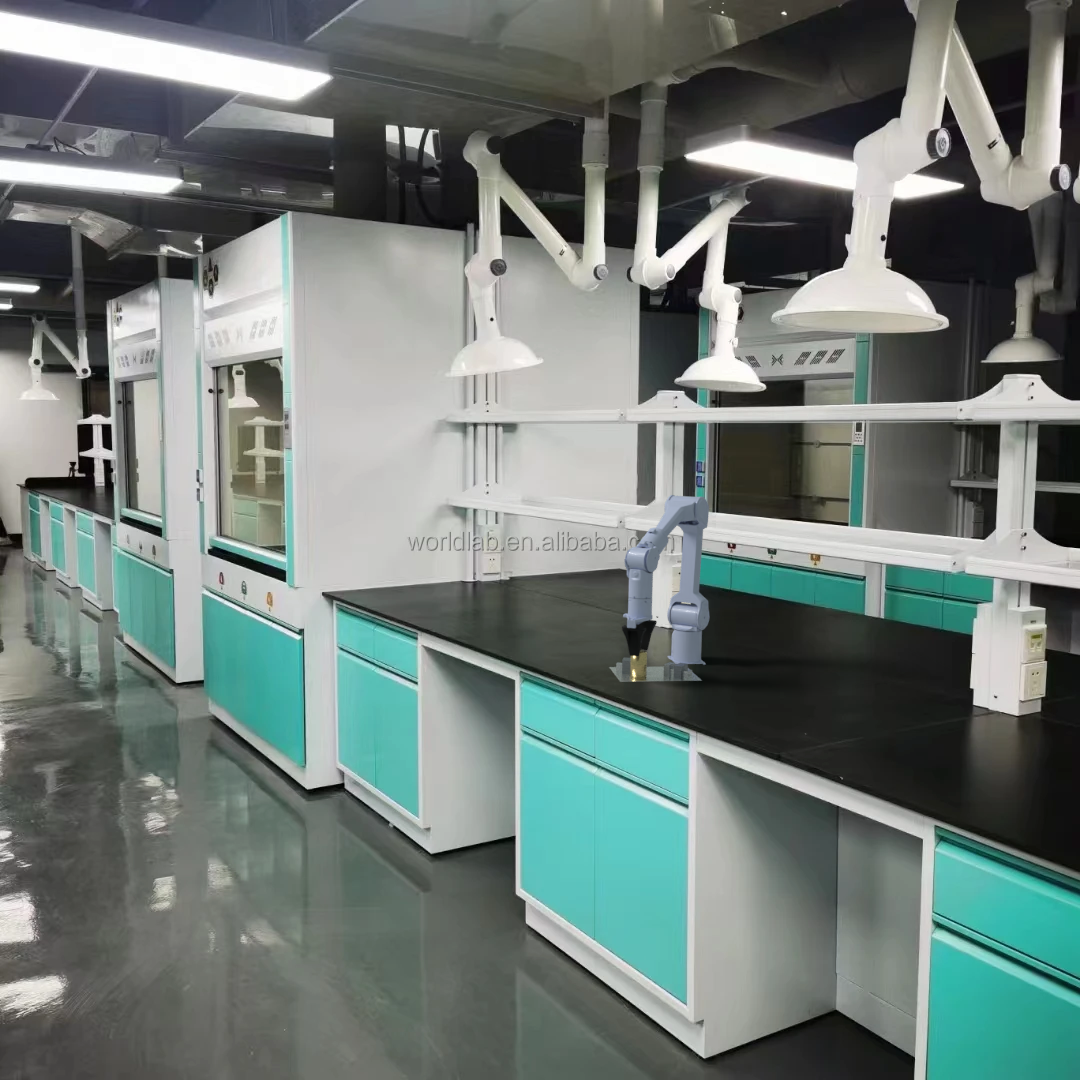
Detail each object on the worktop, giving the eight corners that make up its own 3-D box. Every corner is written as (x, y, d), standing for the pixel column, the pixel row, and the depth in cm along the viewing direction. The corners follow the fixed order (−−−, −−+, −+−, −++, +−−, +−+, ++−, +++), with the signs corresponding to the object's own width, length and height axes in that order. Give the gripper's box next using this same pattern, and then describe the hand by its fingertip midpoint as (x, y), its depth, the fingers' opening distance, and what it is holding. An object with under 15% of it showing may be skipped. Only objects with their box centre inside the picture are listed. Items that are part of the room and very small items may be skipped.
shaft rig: (609, 668, 259) (609, 653, 258) (686, 667, 261) (686, 653, 261) (620, 683, 244) (620, 667, 244) (701, 682, 246) (702, 666, 246)
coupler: (628, 676, 249) (629, 647, 249) (644, 676, 250) (645, 647, 249) (631, 680, 245) (632, 651, 245) (648, 680, 246) (648, 651, 245)
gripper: (632, 591, 254) (631, 645, 255) (615, 600, 240) (613, 656, 242) (660, 594, 251) (658, 648, 252) (644, 602, 238) (642, 659, 239)
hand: (638, 652), depth 247 cm, fingers open, 7 cm apart
